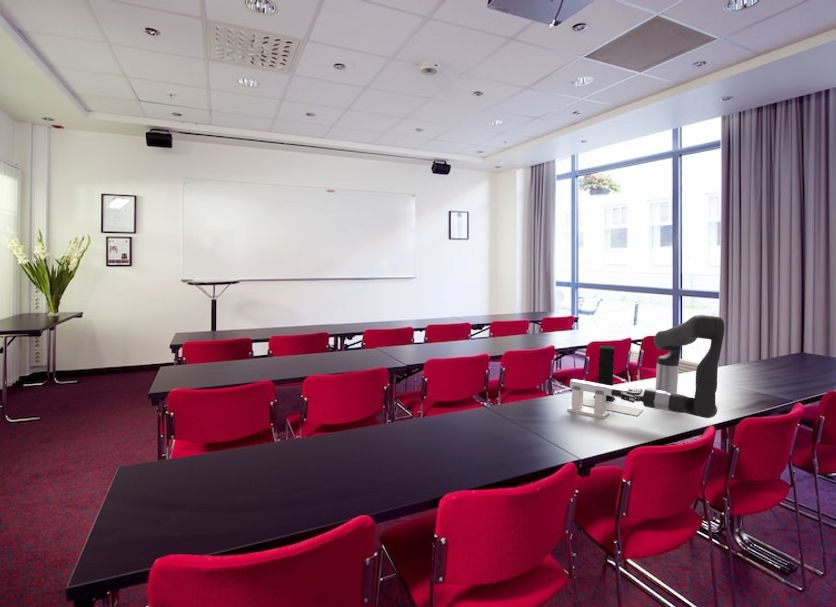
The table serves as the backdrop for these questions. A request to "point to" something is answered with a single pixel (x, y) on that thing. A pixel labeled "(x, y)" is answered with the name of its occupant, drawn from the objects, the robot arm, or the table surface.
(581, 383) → the rail
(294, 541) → the table surface
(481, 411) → the table surface
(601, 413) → the rack
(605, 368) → the handle grip
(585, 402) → the mat
